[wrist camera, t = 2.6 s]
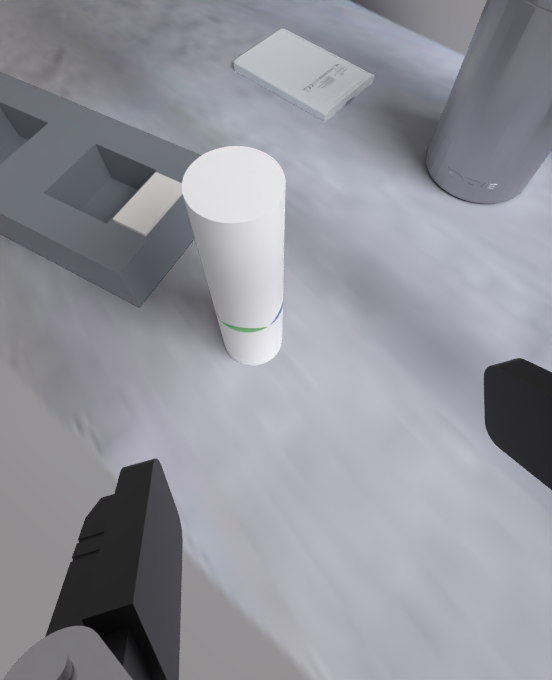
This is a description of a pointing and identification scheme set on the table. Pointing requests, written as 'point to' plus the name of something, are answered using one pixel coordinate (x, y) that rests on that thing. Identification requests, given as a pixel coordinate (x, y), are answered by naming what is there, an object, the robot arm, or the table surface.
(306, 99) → the external hard drive
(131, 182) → the socket block
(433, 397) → the table surface
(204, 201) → the tube
